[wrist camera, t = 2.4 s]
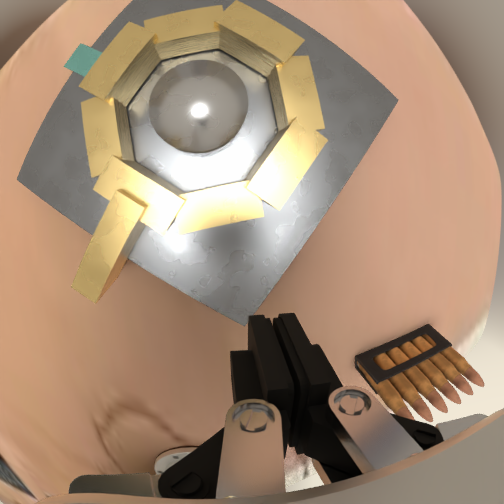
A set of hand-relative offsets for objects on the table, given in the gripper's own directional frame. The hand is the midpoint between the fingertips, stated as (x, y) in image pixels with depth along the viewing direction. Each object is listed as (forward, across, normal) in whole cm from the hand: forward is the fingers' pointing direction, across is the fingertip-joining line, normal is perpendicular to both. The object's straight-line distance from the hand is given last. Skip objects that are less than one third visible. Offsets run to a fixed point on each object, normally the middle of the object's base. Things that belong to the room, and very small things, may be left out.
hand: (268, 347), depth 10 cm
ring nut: (+12, +5, -8) cm, 15 cm away
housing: (+14, +3, -10) cm, 18 cm away
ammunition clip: (+14, -18, +12) cm, 26 cm away
